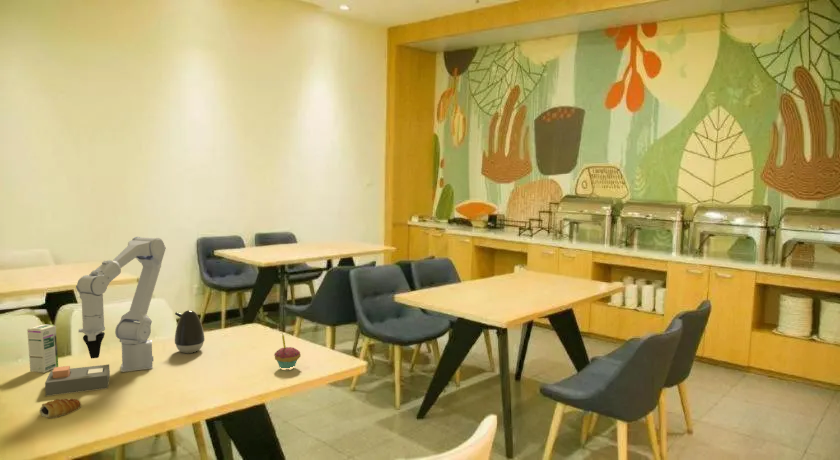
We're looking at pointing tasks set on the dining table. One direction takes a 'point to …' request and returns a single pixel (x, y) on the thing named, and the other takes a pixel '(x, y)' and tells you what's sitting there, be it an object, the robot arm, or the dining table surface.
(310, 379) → the dining table surface
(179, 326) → the pump dispenser
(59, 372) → the button
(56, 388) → the block
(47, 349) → the syrup box
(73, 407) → the pastry
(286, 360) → the cupcake
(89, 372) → the button
